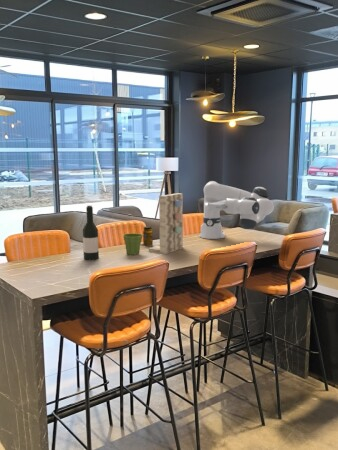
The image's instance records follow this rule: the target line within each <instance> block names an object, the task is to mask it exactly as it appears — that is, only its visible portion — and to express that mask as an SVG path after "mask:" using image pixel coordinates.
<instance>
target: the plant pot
mask: <svg viewBox="0 0 338 450" xmlns="http://www.w3.org/2000/svg"><path fill="white" fill-rule="evenodd" d="M122 237H123V240H124V245H125V250H126V254H127V255H130V256H134V255H140V251H141V250H140V249H141V246H140V244H142V239H143V233H135V232H134V233H125V234H122Z"/></svg>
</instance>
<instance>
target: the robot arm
mask: <svg viewBox="0 0 338 450" xmlns="http://www.w3.org/2000/svg"><path fill="white" fill-rule="evenodd" d="M203 195H204V197H203V198H204V199H203V217H202V222H203V223H202V224H201V225H200V234H198V237H199V238H202V239H207V240H208V239H209V240H217V239H225V238H226V233H225V232H224V230H223V226H222V224H221V213H220V212H221V211H224V213H226V214H228V215H240V216H239V217H240V218H239V223H238V224H239V226H240V227H241V229H244V230H254V229H255V228H256V227H257V226H258V225H260V224H261V223H262V222H263V221H264V220H265V218H266V217H267V216H268V215H270V214H271V213H272V212H274V210H275V204H274V203H273V201H272V200H271V199H269V198H270V195H269V191H268V190H267V189H266V188H265V187H263V186H256V187H254V188H253V190H252V192H251V191H247V190H243V189H240V188H237V187H233V186H229V185H226V184H222V183H218V182H217V181H214V180H210V181H208V182H207V183H206V184H205V185H204V186H203Z"/></svg>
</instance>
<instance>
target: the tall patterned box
mask: <svg viewBox="0 0 338 450" xmlns="http://www.w3.org/2000/svg"><path fill="white" fill-rule="evenodd" d="M183 196H184V193H179V192H177V193H170V194H164V195H159V196H158V197H159V201H158V202H159V203H158V205H159V206H158V208H159V244H158V245H154V246H151V247H149V248H148V253H157V254H164V255H167V254H169V253H172V252H175V251H177V250H180V249H183V248H184V247H183V245H184V244H183V243H184V242H183V241H184V240H183V238H184V237H183V236H184V227H183V226H184V225H183V223H184V221H183V220H184V219H183V217H184V216H183V215H184V214H183V213H184V211H183V209H184V208H183V207H184V205H183V203H184V202H183V199H184V197H183ZM176 200H181V202H182V204H181V207H176V206H175V205H173V202H175V201H176ZM176 213H181V215H182V218H181V220H180V221H178V220H175V218H173V215H175V214H176ZM177 226H179V227H181V228H182V231H181V233H180V234H176V233H175V231H173V228H176V227H177Z"/></svg>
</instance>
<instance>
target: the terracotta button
mask: <svg viewBox="0 0 338 450" xmlns="http://www.w3.org/2000/svg"><path fill="white" fill-rule="evenodd" d="M173 218H175V220H178V221H180V220H181V218H182V215H181V213H176V214H175V215H173Z"/></svg>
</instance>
